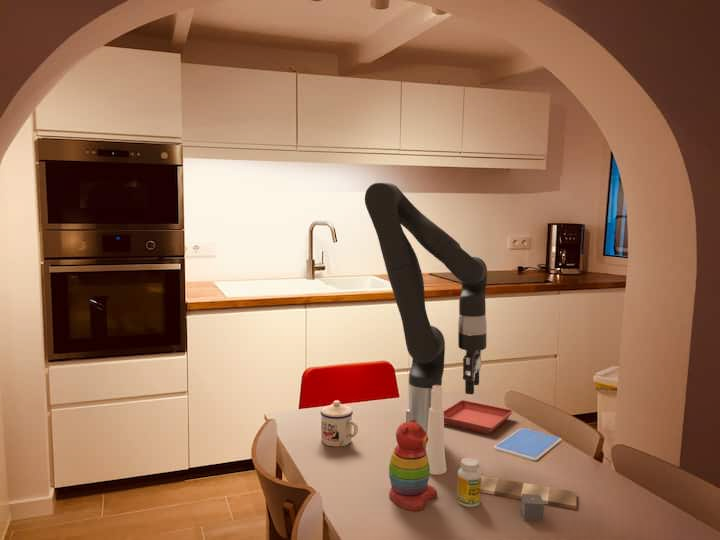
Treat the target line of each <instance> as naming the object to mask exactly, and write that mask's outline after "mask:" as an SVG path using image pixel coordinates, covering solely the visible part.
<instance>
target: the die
mask: <svg viewBox="0 0 720 540" xmlns="http://www.w3.org/2000/svg"><path fill="white" fill-rule="evenodd" d="M520 500H521V499H520ZM520 502H521V503H520V504H521V505H520V512H521V516H522V518H523V520H524V521H528V522H530V521H531V522H544V512H545V504H544V503H543V500H542V498H541V496H540V495H531V494H522V500H521V501H520Z"/></svg>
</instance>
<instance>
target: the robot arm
mask: <svg viewBox="0 0 720 540" xmlns="http://www.w3.org/2000/svg"><path fill="white" fill-rule="evenodd" d="M364 205H365V208H366V209H367V212H368V215H369V218H370V219H371V223H372V224H373V225H372V226H373V228H374V230H375V232H376V233H375V234H376V235H377V239H378V243H379V247H380V252H381V254H382V255H381V256H382V259H383V261H384V266H385V270H386V274H387V277H388V280H389V283H390V287H391V291H392V293H393V296H394V300H395V303H396V305H397V309H398V312H399V314H400V319H401V322H402V328H403V333H404V338H405V339H404V341H405V346H406V349H407V352H408V355H409V356H410V357H411V359H412V362H411V363H412V364H411V366H410V370H409V373H408V374H409V375H408V402H407V404H408V407H407V409H406V411H405V422H410V421H411V420H412V419H414V420H415V423H418V424H419V425H421V427H422V428H423V429H424V431H425V432H426V433H427V430H428V417H429V408H430V407H431V390H432V389H433V385H440V386H441V390H443V389H442V387H443V385H442V384H443V374H444V369H445V355H446V354H445V352H446V351H445V350H446V346H445V345H446V342H445V338H444V337H445V336H444V334H443V333H442V331H441V330H440V329H439V328H438V327H436V326H434V325H431V323H430V320H429V317H428V314H427V310H426V300H425V297H426V296H425V282H424V276H423V272H422V269H421V266H420V262H419V259H418V256H417V254H416V251H415V250H414V248H413V246H412V244H411V242H410V241H409V239H408V238H407V235H406V234H405V232H404V229H403V227H404V228H405V229H406V230H407V231H408V232H409V233H410V234H411V235H412V236H413V238H414V239H415V240H416V241H417V243H419V244H420V245H421V246H422V247H423V248H424V249H425V250H426V251H427V252H429V253H430V255H432V256H433V257H434V258H436V259H437V260H438V261H439V262H441V263H442V264H443V265H444V266H445V267H446V269H448V270H449V272H450V273H451V274H452V275H453V276H454V277H455V278H456V279H458V280H459V281H460V282H461V293H460V295H459V300H458V301H459V302H458V305H459V306H458V314H459V315H458V322H457V323H458V324H457V325H458V327H457V329H458V331H457V333H458V335H457V336H458V339H457V341H458V348H459V349H460V350H464V351H465V355H464V357H463V358H462V379H463V380H464V383H465V385H464V386H465V389H464V391H465V395H474V394H475V386H479V385H480V371H481V368H482V351H483V350H485V349H486V348H487V316H486V308H487V307H486V291H487V283H488V268H487V265H486V263H485V261H484V260H483V259H481V258H480V257H478V256H472V255H470V254H469V253H467V251H466V250H464V249H463V248H462V247H461V246H462V245H460V243H459V242H458V241H457V240H456V239H454V238H453V237H452V236H451V235H450V234H448V233H447V232H446V231H444V230H443V229H442V228H441V227H439V226H438V225H437V224H436V223H434V222H433V221H432V220H430V219H429V218H428V217H427V216H426V215H424V214H423V213H422V212H421V211H420V210H419V209H418V208H417V207H416V206H415V205H414V204H413V203H412V202H411V201H410V200H409V199H408V198H407V196H406V195H405V194H404V193H403V192H402V190H400V189H399V187H398V186H397V185H395V184H393V183H389V182H384V181H382V182H381V181H379V182H378V181H377V182H374V183H372V184H370V185H369V186H368V188H367V189H366V191H365V194H364ZM429 253H428V254H429ZM469 373H470V374H469ZM468 374H469V375H468ZM424 448H425V449H426V445H425V446H424Z"/></svg>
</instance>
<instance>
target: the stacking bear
mask: <svg viewBox="0 0 720 540" xmlns="http://www.w3.org/2000/svg"><path fill="white" fill-rule="evenodd" d="M395 431H396V432H395V438H396V443H397V445H396V446H395V447H394V449H393V450H392V453H391V456H390V460H389V466H388V476H389V480H390V486H391V487H390V490H389V492H388V496H389V498H390V500H391V501H392V502H393V503H395V504H396V505H397V506H399V507H401V508H402V509H403V508H404V509H406V510H409V511H413V512H419V511H422V510H424V509H425V508H426V507H425V504H426V502H427V501H428V500H429V501H430V500H432V499H435V498H436V497H437V496H438V492H437V490H436V488H435V487H434V486H432V485H430V484H428V483H429V480H430V475H431V474H430V467H429V462H428V456H427V453H426V448H424V446H425V445H426V444H427V442H428V435H427V433H426V432H425V431H424V429H423V428H422V427H421V425H419V424H418V423H415V420H414V419H412V420H411V421H410V422H406V421H405V422H403V423H401V424H400V425H399V426H398V427H397V429H396V430H395Z"/></svg>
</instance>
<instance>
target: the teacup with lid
mask: <svg viewBox="0 0 720 540" xmlns="http://www.w3.org/2000/svg"><path fill="white" fill-rule="evenodd" d="M320 415H321V429H320V430H321V439H320V440H321V443H322V444H324V445H325V446H328V447H344V446H347V445H349V444H350V443H351V442H352V438H355V437H356V436H357V434H358V431H359V427H358V424H357V423H356V421H355V420H353V416H352V415H353V409H352V408H351V407H349V406H347V405H344V404H342V403H341V402H340V400H334V401H333V402H332V403H331V404H330V405H326V406H324V407H323V408H322V409H321V411H320ZM352 429H353V431H352ZM352 432H353V433H352Z"/></svg>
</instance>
